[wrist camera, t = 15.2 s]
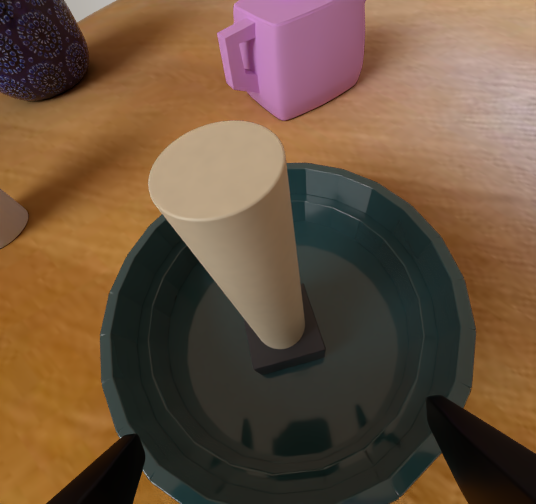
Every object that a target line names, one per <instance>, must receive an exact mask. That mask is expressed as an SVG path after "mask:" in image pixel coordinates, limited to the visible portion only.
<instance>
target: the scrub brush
mask: <svg viewBox="0 0 536 504" xmlns="http://www.w3.org/2000/svg"><path fill="white" fill-rule="evenodd" d="M148 186H149V193H150V196H151V199H152V201H153V203H154V204H155V205H156V207H157V208H158V209H159V210H160V212H161V213H162V214H163V215H164V217H165V218H166V219H167V221H168V222H169V223H170V224H171V226H172V227H173V228H174V230H175V231H176V232H177V233H178V235H179V236H180V237H181V238H182V240H183V241H184V242H185V244H186V245H187V246H188V247H189V249H190V250H191V251H192V253H193V254H194V255H195V256H196V258H197V259H198V260H199V262H200V263H201V264H202V265H203V267H204V268H205V269H206V270H207V272H208V273H209V274H210V276H211V277H212V278H213V279H214V281H215V282H216V283H217V285H218V286H219V287H220V288H221V290H222V291H223V292H224V294H225V295H226V296H227V297H228V299H229V300H230V301H231V302H232V304H233V305H234V306H235V308H236V309H237V310H238V311H239V313H240V314H241V315H242V317H243V318H244V323H245V329H246V334H247V339H248V344H249V350H250V355H251V360H252V365H253V369H254V370H255V371H256V372H258V373H259V374H261V375H264V374H268V373H271V372H275V371H278V370H282V369H285V368H289V367H292V366H296V365H299V364H303V363H307V362H310V361H314V360H317V359H321V358H324V356H325V351H326V348H325V345H324V342H323V339H322V336H321V333H320V330H319V327H318V324H317V321H316V318H315V315H314V312H313V310H312V307H311V304H310V301H309V298H308V295H307V292H306V289H305V286H304V284H300V276H299V267H298V259H297V250H296V242H295V233H294V224H293V216H292V207H291V199H290V190H289V182H288V173H287V165H286V156H285V150H284V147H283V145H282V143H281V141H280V140H279V138H278V137H277V136H276V135H275V134H274V133H273V132H272V131H270V130H269V129H267V128H266V127H263V126H261V125H259V124H256V123H252V122H247V121H222V122H216V123H212V124H208V125H205V126H202V127H199V128H196V129H194V130H192V131H190V132H188V133H186V134H184V135H182V136H181V137H179V138H178V139H176V140H175V141H174V142H172V143H171V144H170V145H169V146H168V147H167V148H166V149H165V150H164V151H163V152H162V153H161V154H160V155H159V157H158V158H157V159H156V161H155V163H154V164H153V166H152V169H151V171H150V175H149V181H148Z"/></svg>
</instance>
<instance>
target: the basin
mask: <svg viewBox="0 0 536 504" xmlns="http://www.w3.org/2000/svg"><path fill="white" fill-rule="evenodd" d="M286 165H287V173H288V182H289V190H290V199H291V207H292V216H293V224H294V233H295V242H296V250H297V259H298V267H299V276H300V284H304V286H305V289H306V292H307V295H308V298H309V301H310V304H311V307H312V310H313V312H314V315H315V318H316V321H317V324H318V327H319V330H320V333H321V336H322V339H323V342H324V345H325V348H326V351H325V356H324V358H321V359H317V360H314V361H310V362H307V363H303V364H299V365H296V366H292V367H289V368H285V369H282V370H278V371H275V372H271V373H268V374H264V375H261V374H259V373H258V372H256V371H255V370H254V369H253V365H252V360H251V355H250V350H249V344H248V339H247V334H246V329H245V323H244V318H243V317H242V315H241V314H240V313H239V311H238V310H237V309H236V308H235V306H234V305H233V304H232V302H231V301H230V300H229V299H228V297H227V296H226V295H225V294H224V292H223V291H222V290H221V288H220V287H219V286H218V285H217V283H216V282H215V281H214V279H213V278H212V277H211V276H210V274H209V273H208V272H207V270H206V269H205V268H204V267H203V265H202V264H201V263H200V262H199V260H198V259H197V258H196V256H195V255H194V254H193V253H192V251H191V250H190V249H189V247H188V246H187V245H186V244H185V242H184V241H183V240H182V238H181V237H180V236H179V235H178V233H177V232H176V231H175V230H174V228H173V227H172V226H171V224H170V223H169V222H168V221H167V219H166V218H165V217H164V215H163V214H162V215H161V216H160V217H158V218H157V219H156V220H155V221H154V222H153V223H152V224H151V225H150V226H149V227H148V228H147V230H146V231H145V232H144V234H143V235H142V236H141V238H140V239H139V240H138V242H137V243H136V244H135V246H134V247H133V248H132V250H131V251H130V252H129V254H128V255H127V257H126V258H125V261H124V263H123V265H122V267H121V269H120V271H119V273H118V275H117V278H116V280H115V282H114V284H113V286H112V288H111V290H110V293H109V296H108V301H107V305H106V310H105V314H104V319H103V324H102V328H101V333H100V356H101V383H102V388H103V391H104V394H105V397H106V400H107V404H108V407H109V410H110V413H111V416H112V420H113V423H114V426H115V429H116V432H117V433H118V436H119V437H120V438H121V437H122V436H124V435H127V434H138V435H139V437H140V440H141V443H142V445H143V448H144V451H145V463H144V467H143V470H142V471H143V472H144V473H145V475H146V476H147V478H148V479H149V480H150V482H151V483H153V484H154V485H155V486H157V487H158V488H160V489H161V490H162V491H164V492H165V493H166V494H168V495H169V496H170V497H172V498H173V499H175V500H176V501H177V502H179V503H180V504H390V503H392V502H394V501H396V500H398V499H399V497H401V496H402V495H403V494H404V493H405V492H406V491H407V490H408V489H409V488H410V487H411V486H412V485H413V483H414V482H415V481H416V480H417V479H418V478H419V477H420V476H421V475H422V474H423V473H424V472H425V471H426V469H427V468H428V467H429V466H430V465H431V464H432V463H433V462H434V461H435V460H436V459H437V458H438V457H439V455H440V454H441V453H442V452H441V450H440V448H439V446H438V443H437V441H436V439H435V437H434V435H433V433H432V431H431V429H430V427H429V424H428V421H427V409H426V398H427V397H428V396H434V395H442V396H444V397H446V398H447V399H449V400H451V401H452V402H454V403H455V404H457V405H459V406H460V407H462V408H464V406H465V403H466V401H467V399H468V396H469V394H470V392H471V389H470V388H472V378H473V365H474V353H475V340H476V331H475V330H476V327H475V323H474V318H473V314H472V309H471V305H470V301H469V296H468V292H467V288H466V283H465V280H464V277H463V275H462V273H461V272H460V270H459V268H458V266H457V264H456V262H455V261H454V259H453V257H452V255H451V253H450V252H449V250H448V248H447V246H446V244H445V242H444V241H443V239H442V238H441V236H440V235H439V234H438V233H437V232H436V231H435V229H434V228H433V227H432V226H431V225H430V224H429V223H428V222H427V221H426V220H425V219H424V218H423V217H422V216H421V215H420V214H419V212H418V211H417V210H416V209H415V208H414V207H413V206H411V204H409V203H408V202H406V201H405V200H403V199H402V198H400V197H399V196H397V195H396V194H394V193H393V192H391V191H390V190H388V189H387V188H385V187H384V186H382V185H380V184H379V183H377V182H375V181H372V180H370V179H367V178H365V177H362V176H360V175H357V174H354V173H352V172H349V171H347V170H344V169H340V168H334V167H329V166H323V165H317V164H312V163H286Z"/></svg>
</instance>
